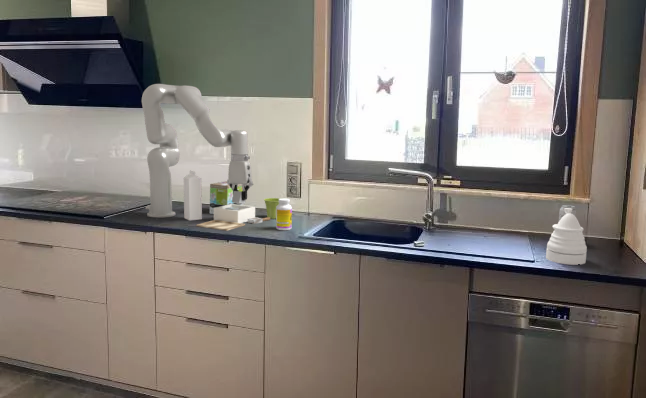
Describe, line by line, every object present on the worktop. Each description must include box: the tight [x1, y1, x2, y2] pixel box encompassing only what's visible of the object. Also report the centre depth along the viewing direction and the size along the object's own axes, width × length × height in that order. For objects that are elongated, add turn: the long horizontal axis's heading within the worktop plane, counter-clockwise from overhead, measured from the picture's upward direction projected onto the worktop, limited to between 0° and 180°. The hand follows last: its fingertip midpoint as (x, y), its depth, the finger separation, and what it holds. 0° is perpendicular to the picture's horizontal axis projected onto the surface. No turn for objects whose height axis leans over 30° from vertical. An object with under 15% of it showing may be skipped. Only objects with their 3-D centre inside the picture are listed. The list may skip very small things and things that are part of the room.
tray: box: [195, 219, 246, 231], centre depth 233 cm, size 16×13×1 cm
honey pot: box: [545, 208, 588, 266], centre depth 191 cm, size 13×13×18 cm
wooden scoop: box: [246, 216, 271, 225], centre depth 244 cm, size 11×4×2 cm, turn 138°
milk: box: [183, 170, 203, 221], centre depth 245 cm, size 6×6×22 cm
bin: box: [213, 204, 256, 224], centre depth 246 cm, size 13×13×6 cm
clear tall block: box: [558, 204, 577, 222], centre depth 217 cm, size 6×6×15 cm
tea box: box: [209, 180, 243, 215], centre depth 264 cm, size 15×10×15 cm
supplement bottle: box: [275, 198, 293, 231], centre depth 230 cm, size 7×7×13 cm
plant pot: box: [263, 197, 281, 220], centre depth 255 cm, size 9×9×9 cm
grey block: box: [225, 207, 238, 211], centre depth 248 cm, size 4×4×5 cm
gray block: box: [232, 191, 246, 205], centre depth 243 cm, size 4×4×5 cm
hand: (240, 198), depth 244 cm, fingers closed on gray block, 3 cm apart
